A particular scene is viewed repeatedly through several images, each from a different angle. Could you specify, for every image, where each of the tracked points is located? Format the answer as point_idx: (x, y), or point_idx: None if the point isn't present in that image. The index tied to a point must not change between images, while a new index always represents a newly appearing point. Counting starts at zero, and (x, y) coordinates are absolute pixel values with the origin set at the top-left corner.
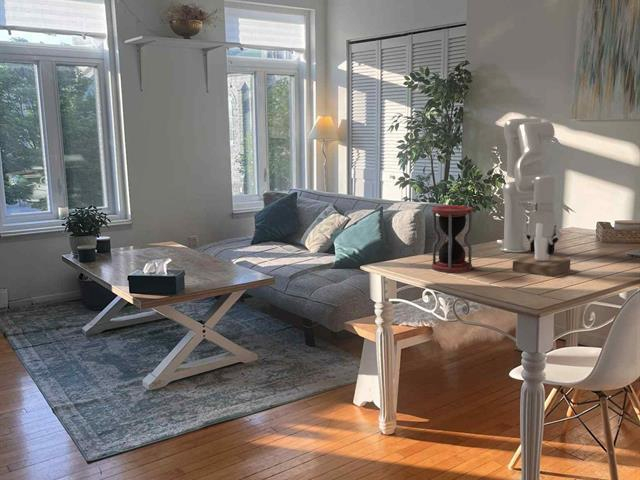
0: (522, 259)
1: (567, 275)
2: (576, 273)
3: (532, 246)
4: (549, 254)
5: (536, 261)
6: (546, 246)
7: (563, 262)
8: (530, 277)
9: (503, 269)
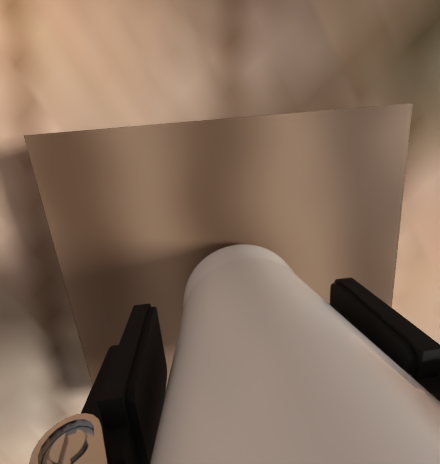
0: (370, 215)
1: (32, 251)
2: (36, 330)
3: (376, 317)
4: (140, 306)
5: (245, 227)
6: (173, 366)
7: (84, 345)
8: (157, 9)
9: (423, 113)
